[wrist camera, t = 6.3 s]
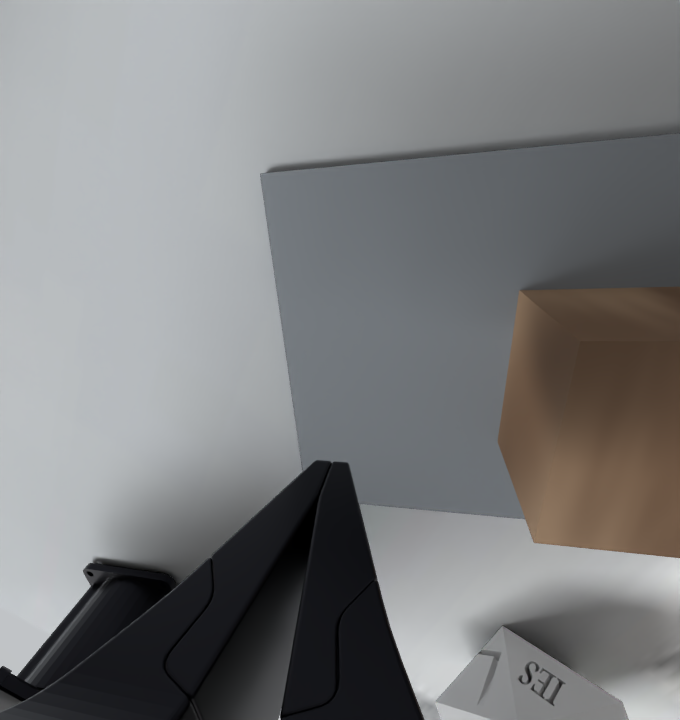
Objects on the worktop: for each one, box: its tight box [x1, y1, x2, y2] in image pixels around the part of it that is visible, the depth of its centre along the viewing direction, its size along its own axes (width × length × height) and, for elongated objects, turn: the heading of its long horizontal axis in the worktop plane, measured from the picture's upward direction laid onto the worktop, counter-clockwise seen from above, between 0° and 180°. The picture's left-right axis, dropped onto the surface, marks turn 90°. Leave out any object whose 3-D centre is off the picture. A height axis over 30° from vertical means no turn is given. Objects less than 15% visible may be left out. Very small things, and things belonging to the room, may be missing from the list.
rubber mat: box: [260, 133, 680, 519], centre depth 12 cm, size 17×14×1 cm
